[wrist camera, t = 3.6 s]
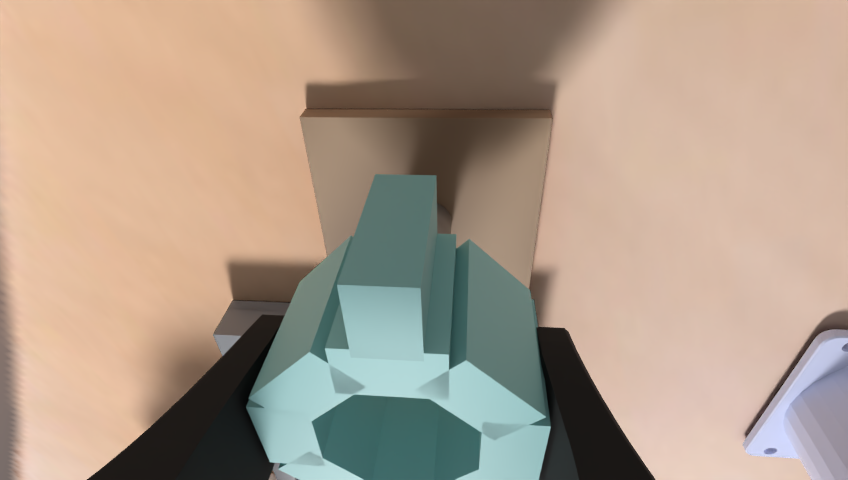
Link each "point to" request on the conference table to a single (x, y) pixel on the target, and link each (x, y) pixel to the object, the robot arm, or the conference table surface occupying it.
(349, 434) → the ring
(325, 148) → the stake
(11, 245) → the conference table surface
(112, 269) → the conference table surface
